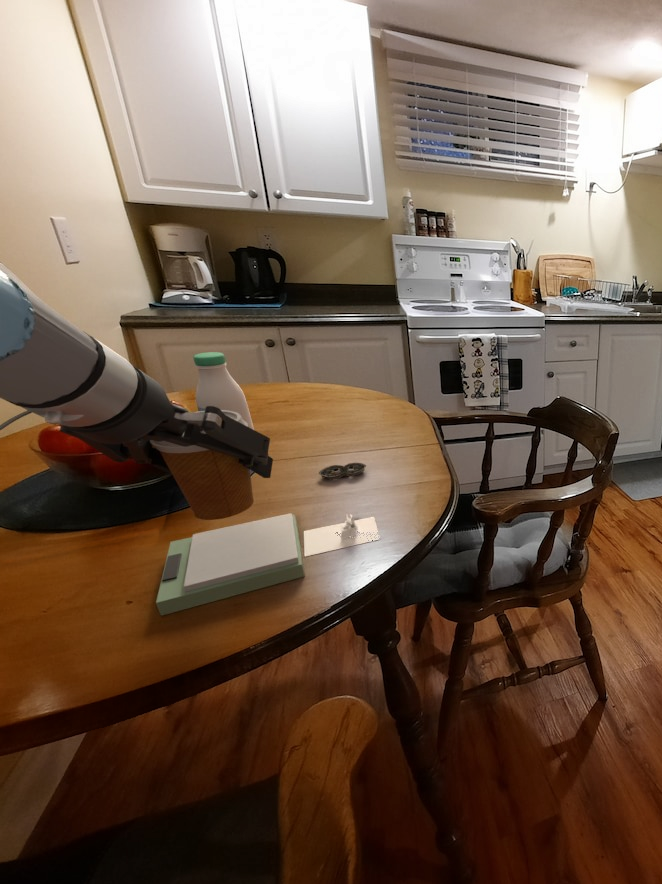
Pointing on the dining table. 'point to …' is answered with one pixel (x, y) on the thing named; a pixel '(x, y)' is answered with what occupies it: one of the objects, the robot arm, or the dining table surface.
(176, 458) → the disposable coffee cup
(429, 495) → the dining table surface
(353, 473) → the corroded twin loop
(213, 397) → the milk bottle
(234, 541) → the kitchen scale
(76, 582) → the dining table surface
